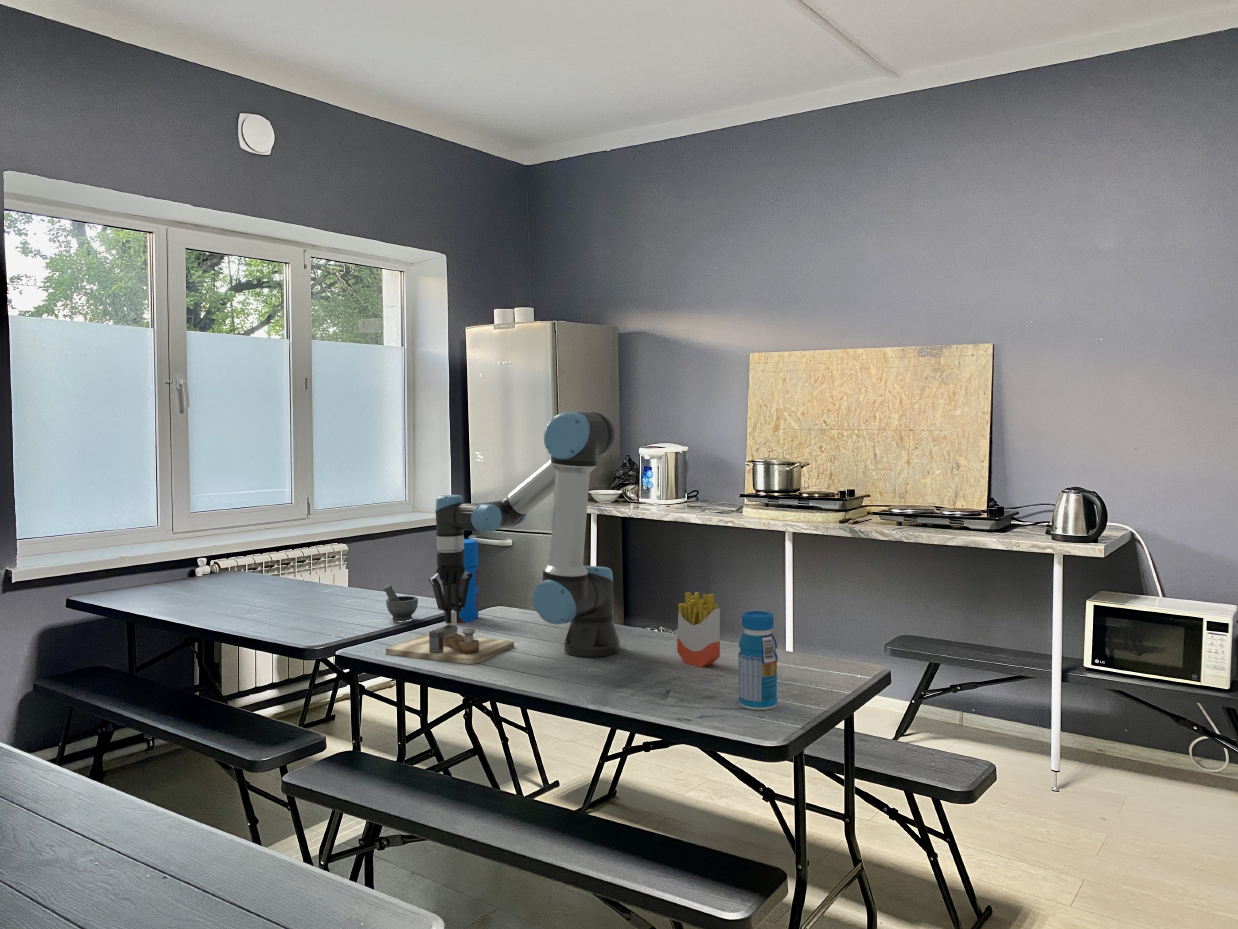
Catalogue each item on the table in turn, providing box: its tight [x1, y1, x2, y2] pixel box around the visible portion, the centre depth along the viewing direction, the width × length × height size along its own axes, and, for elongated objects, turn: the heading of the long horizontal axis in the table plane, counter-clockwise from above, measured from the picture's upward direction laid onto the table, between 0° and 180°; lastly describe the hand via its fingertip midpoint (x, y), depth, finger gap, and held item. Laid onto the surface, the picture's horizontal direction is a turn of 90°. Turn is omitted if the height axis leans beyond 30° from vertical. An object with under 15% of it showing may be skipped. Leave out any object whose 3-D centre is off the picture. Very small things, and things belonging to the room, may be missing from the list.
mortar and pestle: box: [382, 584, 419, 622], centre depth 279 cm, size 11×9×12 cm
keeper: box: [429, 625, 458, 653], centre depth 236 cm, size 3×9×6 cm, turn 156°
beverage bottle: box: [737, 610, 779, 711], centre depth 190 cm, size 8×8×20 cm
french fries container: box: [676, 591, 721, 668], centre depth 224 cm, size 5×11×18 cm, turn 43°
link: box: [443, 627, 479, 654], centre depth 239 cm, size 22×5×6 cm, turn 38°
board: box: [385, 633, 515, 665], centre depth 240 cm, size 28×20×2 cm
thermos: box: [443, 538, 480, 624], centre depth 280 cm, size 11×11×25 cm
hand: (452, 634), depth 246 cm, fingers closed
